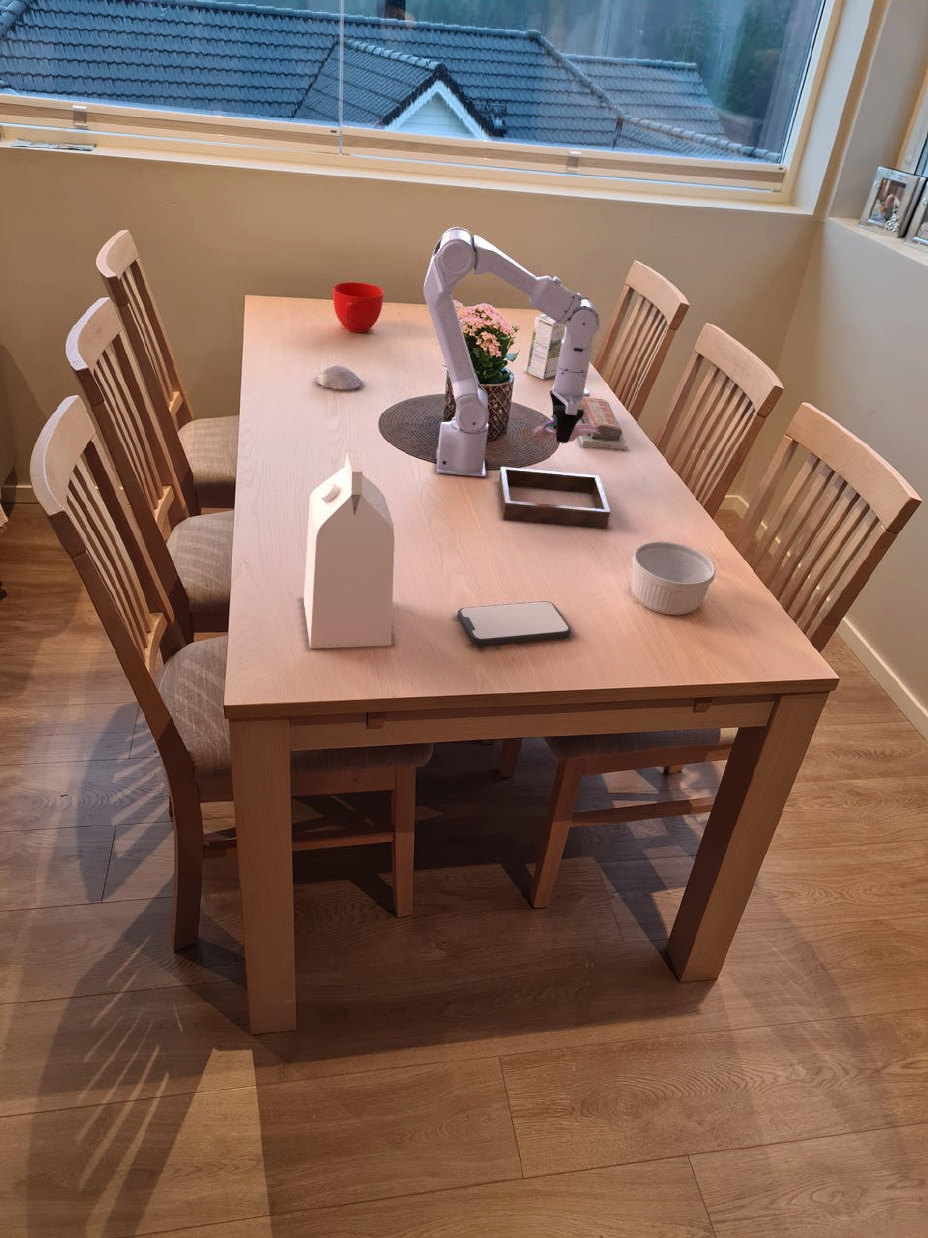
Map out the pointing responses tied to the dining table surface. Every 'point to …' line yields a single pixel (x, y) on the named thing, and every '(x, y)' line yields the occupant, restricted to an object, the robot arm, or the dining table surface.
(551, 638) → the black smartphone
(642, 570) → the ramekin
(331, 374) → the seashell
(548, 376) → the syrup box
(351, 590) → the milk
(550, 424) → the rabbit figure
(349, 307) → the ceramic cup
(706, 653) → the dining table surface
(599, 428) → the butter dish
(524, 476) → the tray
